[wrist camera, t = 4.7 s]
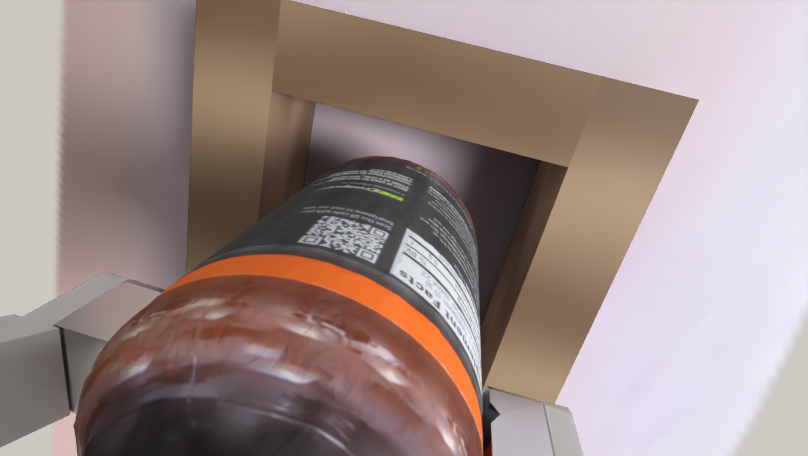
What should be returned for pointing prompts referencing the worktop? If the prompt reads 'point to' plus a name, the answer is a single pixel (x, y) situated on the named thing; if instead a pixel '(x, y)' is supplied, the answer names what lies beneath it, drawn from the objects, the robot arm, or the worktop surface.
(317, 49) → the frame
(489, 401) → the robot arm
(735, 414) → the worktop surface
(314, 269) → the supplement bottle
